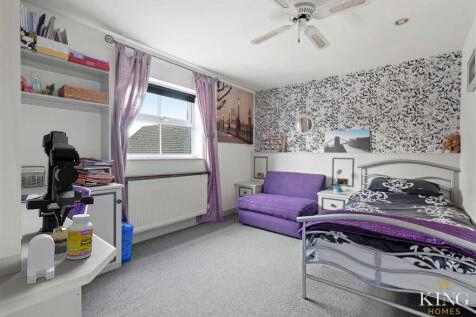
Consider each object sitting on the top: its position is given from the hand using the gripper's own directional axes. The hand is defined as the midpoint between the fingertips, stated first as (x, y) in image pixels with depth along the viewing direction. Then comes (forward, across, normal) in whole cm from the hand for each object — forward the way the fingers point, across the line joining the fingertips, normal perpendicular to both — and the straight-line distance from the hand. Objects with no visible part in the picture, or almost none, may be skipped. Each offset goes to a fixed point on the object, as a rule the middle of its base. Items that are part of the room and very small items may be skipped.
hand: (60, 226), depth 84 cm
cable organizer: (+7, -8, -22) cm, 24 cm away
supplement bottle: (+7, +2, -15) cm, 17 cm away
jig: (+7, 0, 0) cm, 7 cm away
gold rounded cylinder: (+7, 0, 0) cm, 7 cm away
